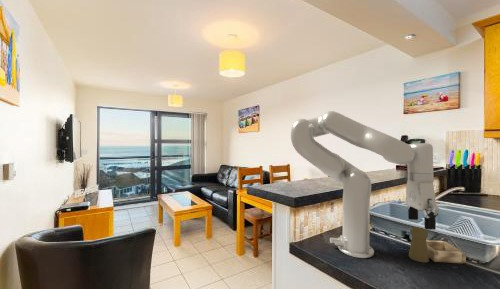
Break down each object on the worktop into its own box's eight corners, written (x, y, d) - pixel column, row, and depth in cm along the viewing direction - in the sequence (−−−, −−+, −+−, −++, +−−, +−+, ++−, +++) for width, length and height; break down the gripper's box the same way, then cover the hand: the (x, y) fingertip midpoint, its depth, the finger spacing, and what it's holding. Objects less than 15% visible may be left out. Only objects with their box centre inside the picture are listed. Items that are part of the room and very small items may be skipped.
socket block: (434, 261, 80) (434, 251, 80) (417, 248, 90) (417, 239, 90) (465, 263, 78) (465, 253, 78) (444, 249, 88) (444, 241, 88)
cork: (432, 263, 79) (433, 232, 78) (413, 261, 80) (413, 230, 80) (423, 254, 85) (423, 225, 84) (405, 253, 86) (405, 224, 86)
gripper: (396, 173, 91) (397, 216, 91) (424, 181, 74) (425, 233, 74) (417, 173, 90) (417, 216, 90) (449, 181, 73) (450, 233, 73)
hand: (421, 224), depth 82 cm, fingers open, 9 cm apart
